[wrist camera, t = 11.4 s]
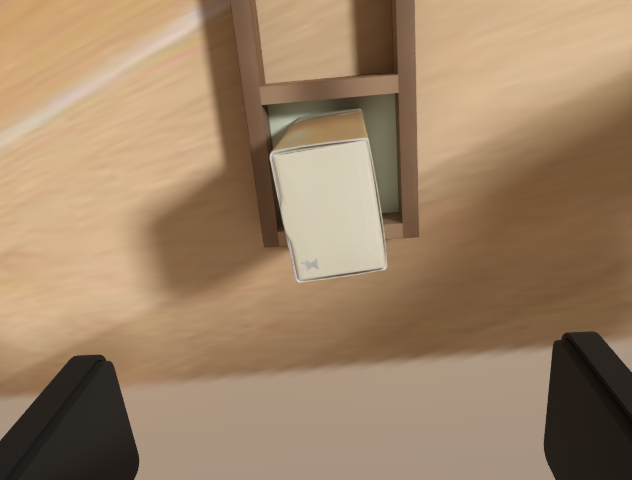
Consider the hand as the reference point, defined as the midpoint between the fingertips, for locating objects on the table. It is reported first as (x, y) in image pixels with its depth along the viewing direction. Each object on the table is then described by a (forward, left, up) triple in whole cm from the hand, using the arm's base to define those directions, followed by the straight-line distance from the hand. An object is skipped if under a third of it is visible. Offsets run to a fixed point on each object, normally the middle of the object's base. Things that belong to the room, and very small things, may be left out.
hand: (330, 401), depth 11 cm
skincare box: (0, 0, -24) cm, 24 cm away
